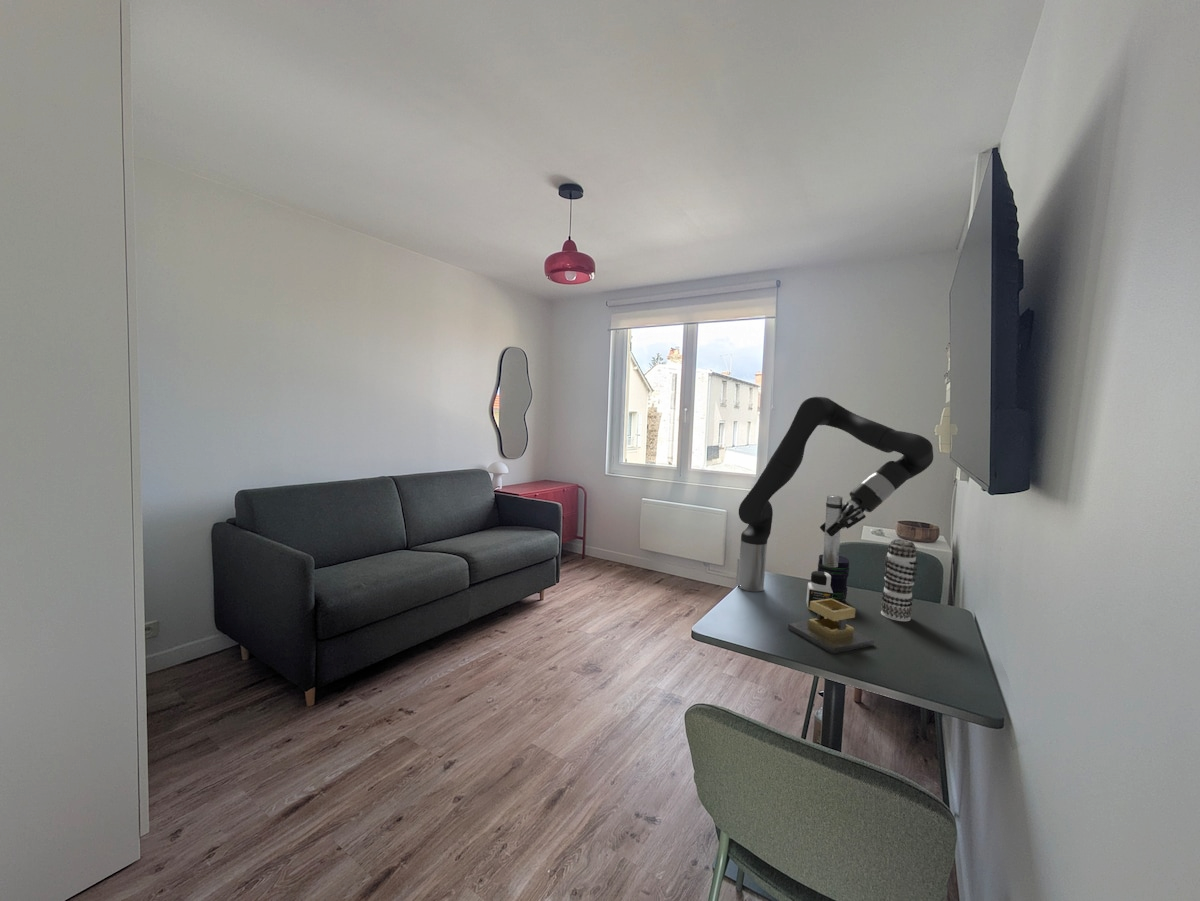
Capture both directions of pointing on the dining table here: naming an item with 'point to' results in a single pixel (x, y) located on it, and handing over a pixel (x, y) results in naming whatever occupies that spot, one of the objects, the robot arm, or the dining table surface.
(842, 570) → the storage jar
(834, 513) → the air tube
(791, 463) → the robot arm
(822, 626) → the collar stand
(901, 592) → the decorative candle
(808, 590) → the medicine bottle
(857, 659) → the dining table surface
